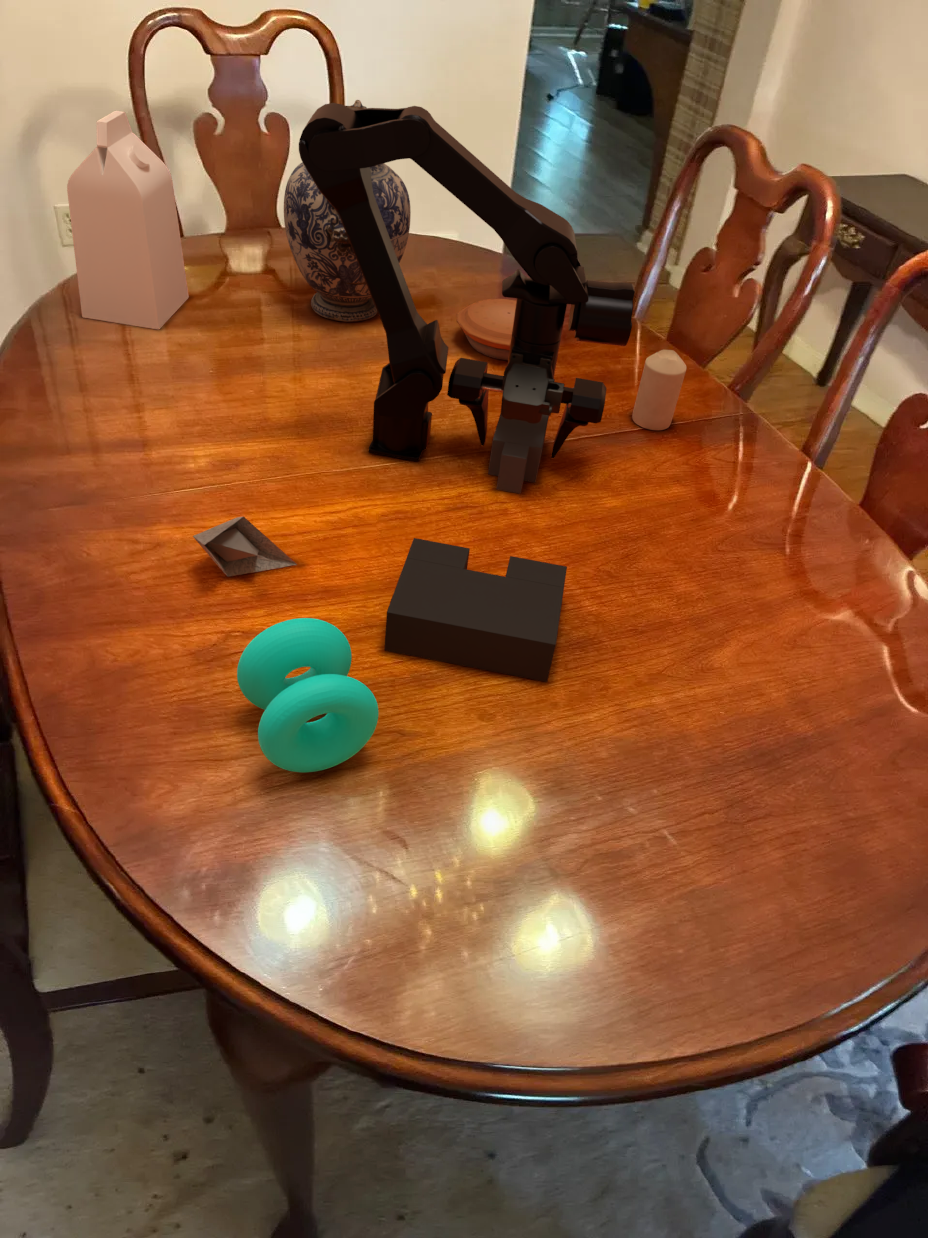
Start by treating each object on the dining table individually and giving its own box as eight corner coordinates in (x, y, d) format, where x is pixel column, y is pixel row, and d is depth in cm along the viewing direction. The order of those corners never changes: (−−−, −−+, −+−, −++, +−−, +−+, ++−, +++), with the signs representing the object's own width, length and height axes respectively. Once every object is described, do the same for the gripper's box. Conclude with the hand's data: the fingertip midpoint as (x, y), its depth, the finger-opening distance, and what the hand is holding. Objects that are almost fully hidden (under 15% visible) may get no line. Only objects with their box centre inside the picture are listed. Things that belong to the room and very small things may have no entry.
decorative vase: (400, 344, 139) (412, 141, 120) (275, 331, 138) (268, 125, 119) (408, 287, 155) (420, 101, 136) (296, 275, 153) (293, 85, 135)
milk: (116, 285, 144) (88, 99, 126) (188, 297, 143) (170, 111, 126) (82, 317, 135) (47, 121, 117) (159, 329, 134) (135, 134, 117)
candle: (669, 433, 127) (689, 366, 120) (630, 426, 127) (647, 358, 120) (671, 414, 131) (689, 348, 124) (632, 407, 131) (649, 341, 125)
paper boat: (269, 519, 101) (324, 538, 96) (254, 576, 102) (308, 598, 96) (175, 499, 92) (231, 519, 86) (160, 561, 92) (214, 585, 87)
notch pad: (384, 650, 89) (386, 612, 86) (410, 575, 98) (413, 537, 95) (547, 682, 88) (555, 644, 85) (558, 603, 97) (567, 566, 94)
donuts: (265, 792, 76) (260, 710, 69) (237, 706, 82) (229, 624, 76) (380, 761, 79) (386, 680, 73) (344, 681, 86) (346, 600, 79)
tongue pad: (484, 487, 112) (489, 452, 109) (499, 434, 122) (504, 400, 119) (532, 496, 112) (539, 461, 109) (543, 442, 122) (550, 408, 118)
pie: (571, 343, 145) (577, 313, 141) (523, 378, 134) (528, 346, 131) (488, 313, 150) (492, 282, 147) (435, 344, 140) (438, 312, 136)
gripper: (444, 350, 101) (433, 470, 112) (613, 379, 100) (585, 498, 111) (462, 310, 110) (450, 425, 120) (617, 336, 109) (591, 451, 119)
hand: (517, 450), depth 117 cm, fingers open, 9 cm apart
